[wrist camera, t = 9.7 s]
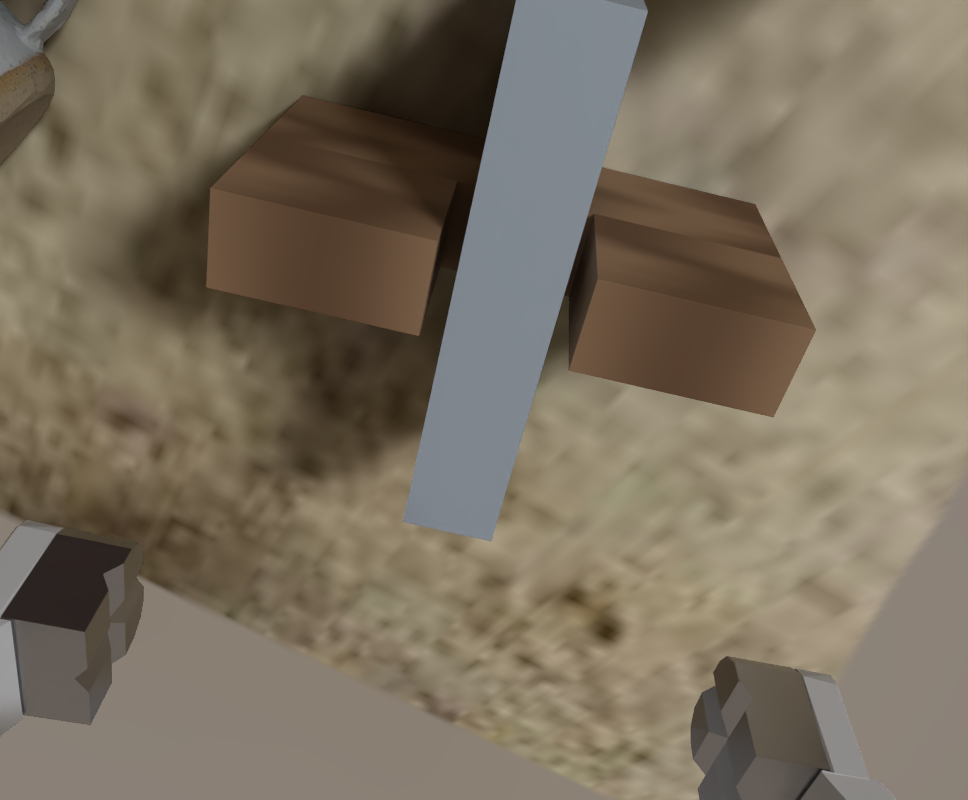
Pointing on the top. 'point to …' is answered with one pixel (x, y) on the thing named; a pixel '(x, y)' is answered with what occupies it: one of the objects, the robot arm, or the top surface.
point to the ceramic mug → (26, 70)
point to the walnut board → (440, 236)
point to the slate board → (519, 249)
